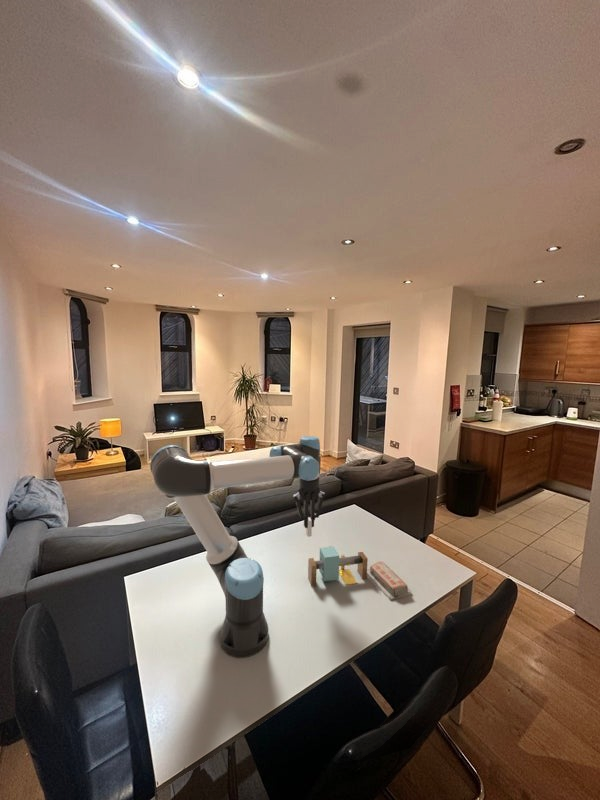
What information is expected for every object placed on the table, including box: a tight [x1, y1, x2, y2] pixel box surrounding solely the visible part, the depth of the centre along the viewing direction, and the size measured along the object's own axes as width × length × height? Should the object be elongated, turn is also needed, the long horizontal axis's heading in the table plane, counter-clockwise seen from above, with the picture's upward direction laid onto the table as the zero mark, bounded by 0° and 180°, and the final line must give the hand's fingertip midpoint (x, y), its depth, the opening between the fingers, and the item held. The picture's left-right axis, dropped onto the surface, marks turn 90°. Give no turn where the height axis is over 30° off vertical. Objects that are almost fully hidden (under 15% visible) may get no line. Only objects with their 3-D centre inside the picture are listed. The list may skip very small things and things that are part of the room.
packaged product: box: [367, 561, 412, 601], centre depth 132 cm, size 18×5×10 cm
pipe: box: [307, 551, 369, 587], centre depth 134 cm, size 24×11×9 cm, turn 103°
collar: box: [318, 546, 340, 582], centre depth 132 cm, size 6×7×10 cm
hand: (308, 534), depth 129 cm, fingers closed
